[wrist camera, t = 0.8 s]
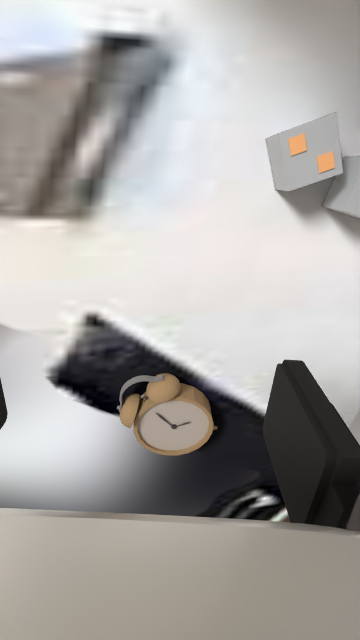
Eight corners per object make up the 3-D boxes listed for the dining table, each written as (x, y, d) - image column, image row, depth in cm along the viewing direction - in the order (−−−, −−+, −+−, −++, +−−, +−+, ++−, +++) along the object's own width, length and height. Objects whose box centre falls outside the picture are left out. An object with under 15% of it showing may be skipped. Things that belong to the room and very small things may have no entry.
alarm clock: (171, 466, 48) (95, 422, 41) (168, 439, 52) (99, 394, 45) (230, 430, 45) (159, 375, 38) (222, 403, 49) (157, 350, 42)
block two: (265, 139, 32) (279, 133, 28) (314, 120, 32) (337, 111, 27) (274, 189, 34) (289, 191, 30) (321, 173, 34) (343, 173, 29)
